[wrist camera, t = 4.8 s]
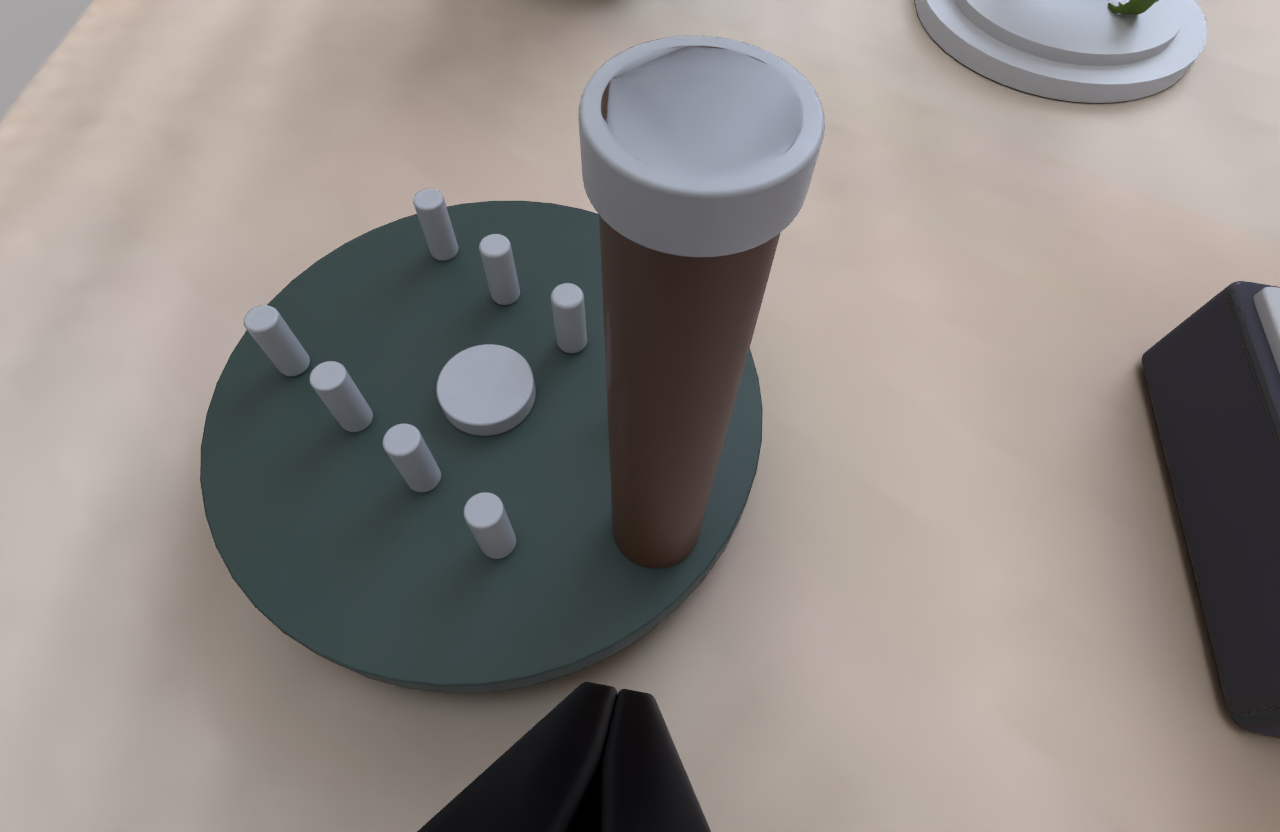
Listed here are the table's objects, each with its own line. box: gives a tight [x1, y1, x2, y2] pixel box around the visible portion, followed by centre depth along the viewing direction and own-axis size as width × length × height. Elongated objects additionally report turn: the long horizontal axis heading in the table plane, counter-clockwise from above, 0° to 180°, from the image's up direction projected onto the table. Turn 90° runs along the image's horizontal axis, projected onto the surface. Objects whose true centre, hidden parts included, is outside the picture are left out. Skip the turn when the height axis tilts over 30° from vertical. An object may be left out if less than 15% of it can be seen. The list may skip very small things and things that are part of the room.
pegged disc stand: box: [200, 36, 825, 693], centre depth 13 cm, size 14×14×12 cm
